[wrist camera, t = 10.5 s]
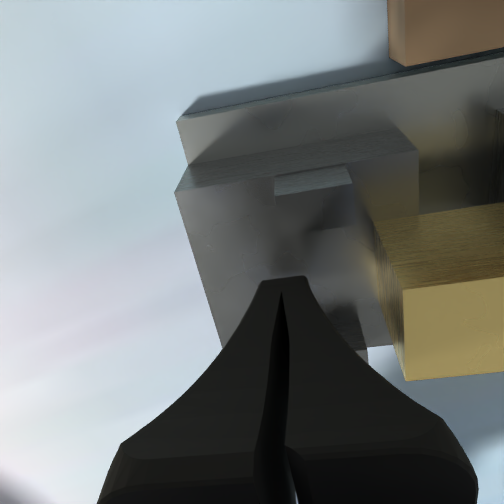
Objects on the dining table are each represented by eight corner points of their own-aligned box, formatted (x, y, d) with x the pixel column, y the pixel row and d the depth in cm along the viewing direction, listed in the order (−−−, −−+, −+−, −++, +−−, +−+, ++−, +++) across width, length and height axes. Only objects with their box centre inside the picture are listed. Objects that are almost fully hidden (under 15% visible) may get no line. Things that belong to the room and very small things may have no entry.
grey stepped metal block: (654, 285, 17) (786, 386, 13) (241, 335, 20) (231, 435, 15) (745, 4, 12) (1009, 8, 8) (180, 115, 15) (139, 167, 10)
